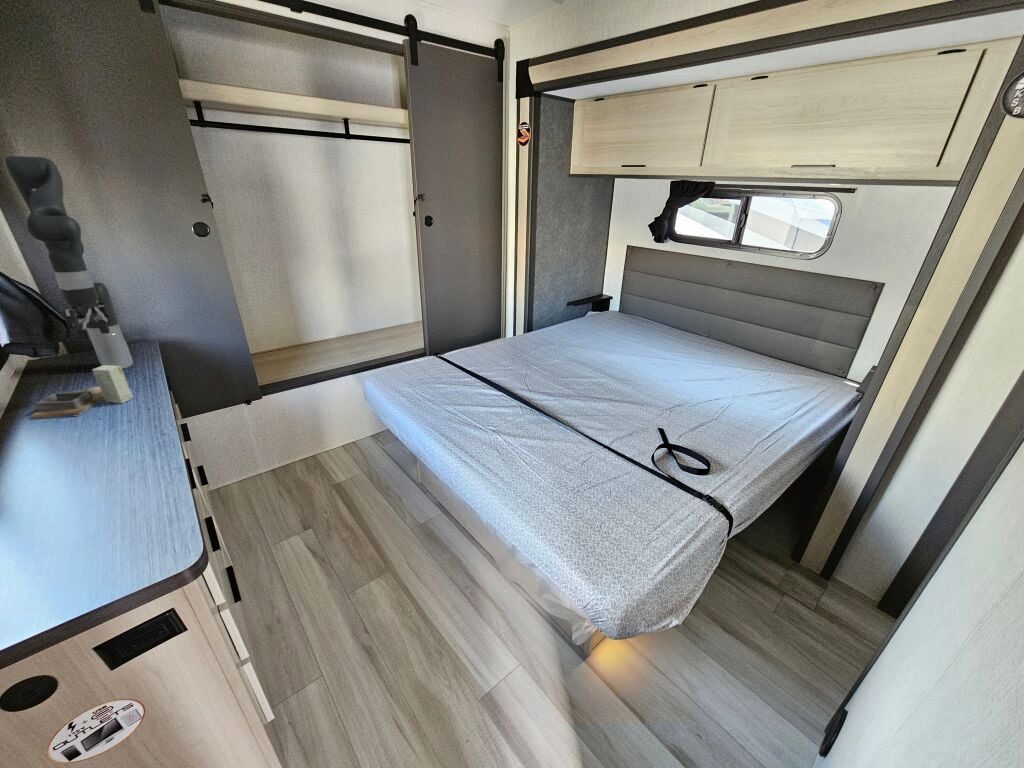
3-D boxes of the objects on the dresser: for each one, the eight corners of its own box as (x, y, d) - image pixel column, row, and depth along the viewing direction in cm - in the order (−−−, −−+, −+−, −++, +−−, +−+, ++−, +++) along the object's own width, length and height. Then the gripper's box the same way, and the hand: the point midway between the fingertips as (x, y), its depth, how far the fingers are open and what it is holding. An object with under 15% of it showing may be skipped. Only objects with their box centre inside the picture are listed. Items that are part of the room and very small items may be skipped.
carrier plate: (74, 393, 144) (70, 384, 143) (114, 392, 147) (111, 382, 145) (32, 418, 128) (26, 408, 127) (78, 416, 131) (73, 405, 129)
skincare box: (134, 398, 143) (122, 365, 138) (122, 404, 139) (109, 370, 134) (117, 396, 144) (104, 364, 139) (104, 402, 140) (91, 369, 135)
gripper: (80, 282, 132) (99, 331, 139) (42, 290, 119) (64, 344, 126) (107, 282, 134) (124, 330, 140) (72, 290, 121) (93, 343, 127)
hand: (96, 337), depth 133 cm, fingers open, 8 cm apart
